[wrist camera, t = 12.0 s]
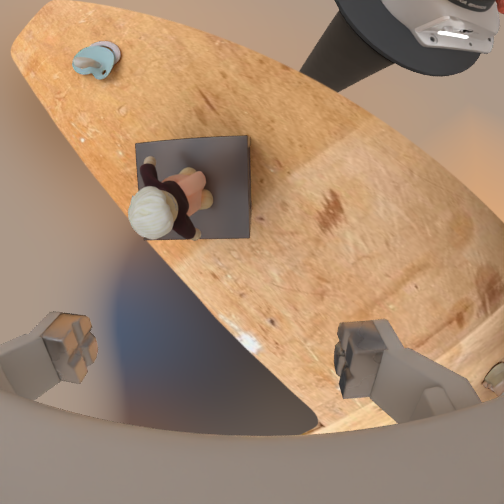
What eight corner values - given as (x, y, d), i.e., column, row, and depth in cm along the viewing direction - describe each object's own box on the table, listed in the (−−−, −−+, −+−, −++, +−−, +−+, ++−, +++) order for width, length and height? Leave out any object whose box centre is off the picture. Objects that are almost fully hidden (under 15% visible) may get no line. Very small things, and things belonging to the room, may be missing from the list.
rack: (250, 136, 40) (247, 135, 28) (252, 209, 43) (249, 238, 31) (169, 141, 40) (134, 143, 28) (174, 211, 44) (143, 240, 31)
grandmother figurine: (231, 201, 30) (213, 244, 18) (202, 227, 31) (169, 283, 19) (177, 143, 28) (123, 147, 16) (149, 170, 29) (85, 193, 17)
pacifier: (92, 38, 34) (75, 73, 36) (73, 27, 28) (54, 65, 30) (130, 47, 35) (112, 84, 37) (113, 35, 29) (92, 76, 31)
